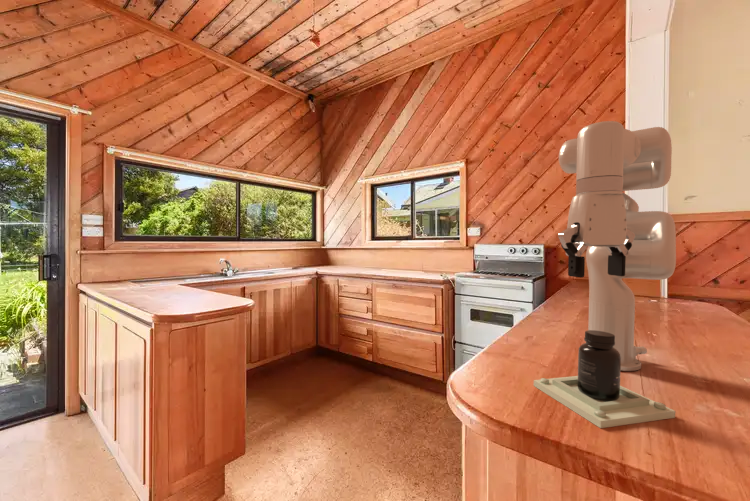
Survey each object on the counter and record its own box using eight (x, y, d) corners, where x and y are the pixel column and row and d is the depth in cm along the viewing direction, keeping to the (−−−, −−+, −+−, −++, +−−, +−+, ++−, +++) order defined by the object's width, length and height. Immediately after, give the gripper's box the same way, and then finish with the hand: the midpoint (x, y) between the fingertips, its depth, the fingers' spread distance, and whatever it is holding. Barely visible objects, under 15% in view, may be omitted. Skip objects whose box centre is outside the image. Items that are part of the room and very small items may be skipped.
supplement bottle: (627, 404, 59) (629, 339, 58) (586, 400, 60) (588, 337, 60) (608, 387, 65) (610, 329, 65) (571, 384, 67) (573, 327, 66)
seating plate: (595, 379, 72) (595, 369, 72) (675, 417, 56) (675, 405, 56) (533, 385, 69) (533, 375, 69) (600, 428, 53) (600, 415, 53)
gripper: (615, 193, 68) (613, 273, 69) (546, 190, 64) (544, 275, 65) (653, 187, 61) (650, 277, 61) (578, 184, 57) (576, 279, 57)
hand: (596, 276), depth 63 cm, fingers open, 9 cm apart
